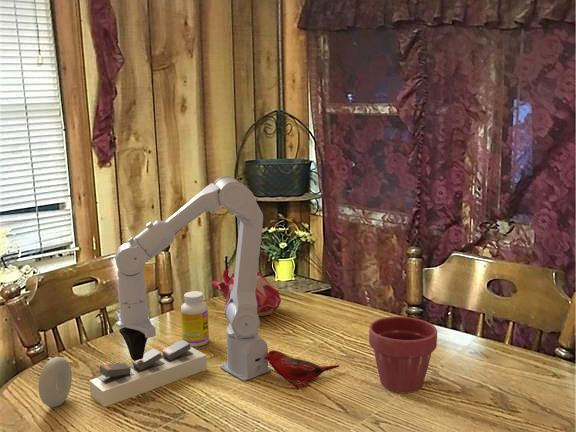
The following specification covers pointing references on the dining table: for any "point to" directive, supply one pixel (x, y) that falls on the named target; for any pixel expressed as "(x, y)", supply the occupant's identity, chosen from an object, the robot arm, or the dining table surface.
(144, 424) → the dining table surface
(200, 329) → the supplement bottle
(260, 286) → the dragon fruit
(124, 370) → the rocker
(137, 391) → the rocker switch panel
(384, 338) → the plant pot
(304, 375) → the decorative bird figurine
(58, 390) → the grey round disc
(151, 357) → the rocker
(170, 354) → the block
